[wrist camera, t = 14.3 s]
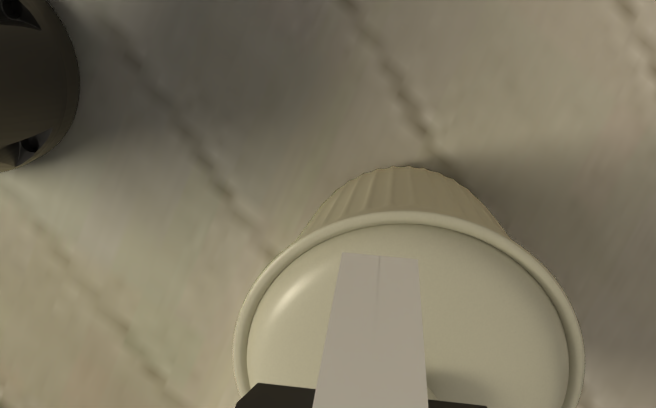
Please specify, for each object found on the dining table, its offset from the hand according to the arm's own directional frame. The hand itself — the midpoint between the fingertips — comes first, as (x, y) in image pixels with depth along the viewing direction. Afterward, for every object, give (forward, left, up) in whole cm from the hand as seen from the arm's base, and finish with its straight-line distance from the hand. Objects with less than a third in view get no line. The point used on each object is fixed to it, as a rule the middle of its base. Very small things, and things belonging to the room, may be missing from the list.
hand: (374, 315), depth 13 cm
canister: (+2, -13, -33) cm, 35 cm away
